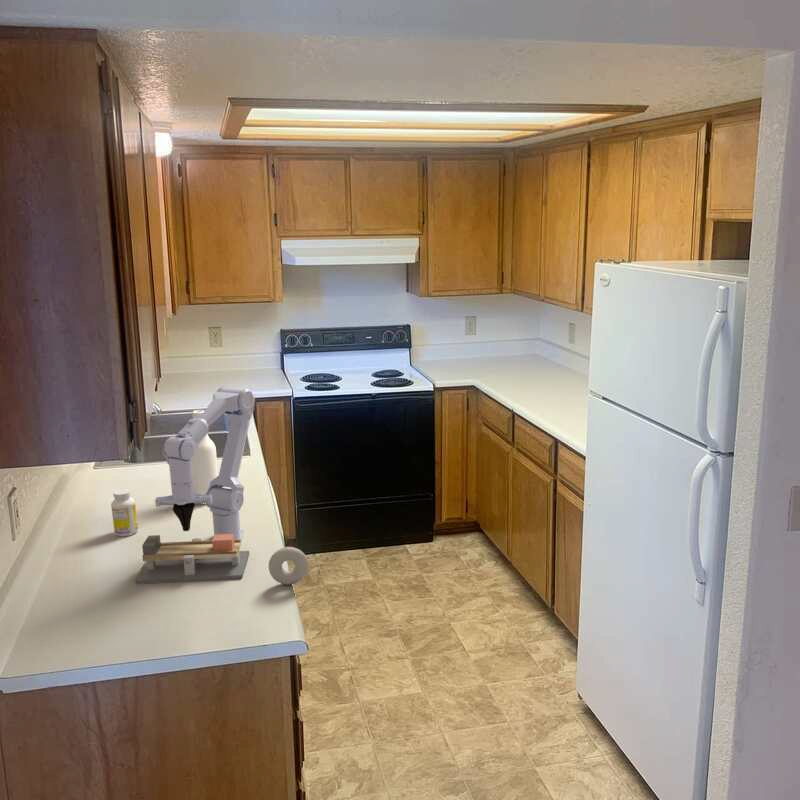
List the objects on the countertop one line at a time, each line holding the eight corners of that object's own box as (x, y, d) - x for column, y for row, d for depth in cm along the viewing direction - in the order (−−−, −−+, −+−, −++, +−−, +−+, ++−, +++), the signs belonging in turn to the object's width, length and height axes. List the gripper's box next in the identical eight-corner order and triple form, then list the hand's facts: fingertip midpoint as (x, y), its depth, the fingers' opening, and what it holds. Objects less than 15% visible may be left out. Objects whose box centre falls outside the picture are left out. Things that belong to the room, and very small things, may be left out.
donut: (269, 588, 199) (266, 551, 197) (270, 582, 202) (267, 545, 200) (309, 585, 200) (307, 548, 198) (309, 579, 203) (307, 543, 201)
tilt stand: (149, 558, 218) (147, 539, 217) (249, 553, 219) (247, 534, 218) (135, 583, 203) (132, 562, 202) (242, 578, 205) (240, 557, 203)
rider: (215, 545, 212) (214, 534, 212) (234, 544, 212) (233, 533, 212) (213, 551, 208) (212, 540, 208) (232, 550, 209) (231, 539, 208)
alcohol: (225, 497, 263) (218, 409, 256) (208, 506, 256) (200, 415, 249) (204, 493, 267) (196, 406, 260) (186, 502, 260) (178, 413, 253)
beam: (150, 548, 214) (149, 534, 213) (241, 544, 215) (240, 530, 214) (142, 561, 206) (141, 546, 205) (236, 557, 207) (235, 542, 206)
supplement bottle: (130, 526, 241) (125, 486, 238) (142, 531, 237) (138, 490, 234) (110, 533, 236) (105, 492, 233) (122, 539, 232) (117, 497, 229)
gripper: (150, 487, 205) (155, 536, 209) (207, 485, 206) (211, 534, 209) (156, 478, 212) (161, 526, 215) (212, 476, 213) (216, 523, 216)
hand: (186, 529), depth 213 cm, fingers closed
